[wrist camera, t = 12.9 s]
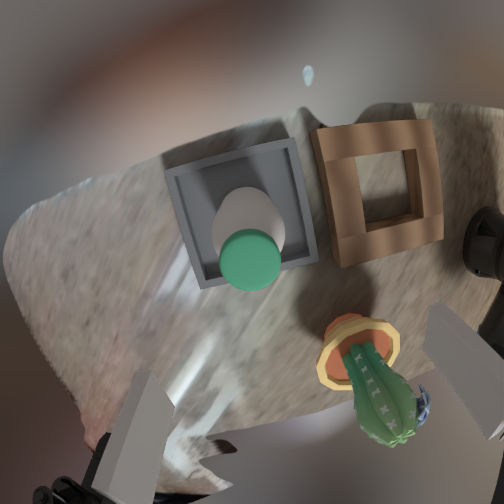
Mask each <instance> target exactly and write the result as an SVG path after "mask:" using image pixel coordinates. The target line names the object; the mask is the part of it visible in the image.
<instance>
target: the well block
mask: <svg viewBox="0 0 504 504" xmlns="http://www.w3.org/2000/svg"><path fill="white" fill-rule="evenodd" d="M310 137H311V141H312V145H313V149H314V154H315V158H316V163H317V167H318V172H319V177H320V182H321V187H322V192H323V197H324V203H325V208H326V214H327V220H328V226H329V232H330V238H331V245H332V252H333V259H334V260H335V261H336V263H337V264H338V265H339V266H340V267H341V268H345V267H349V266H352V265H356V264H360V263H363V262H367V261H371V260H374V259H378V258H381V257H385V256H388V255H392V254H395V253H399V252H402V251H405V250H409V249H412V248H415V247H419V246H422V245H425V244H429V243H432V242H435V241H438V240H441V239H444V223H443V201H442V188H441V177H440V169H439V161H438V154H437V148H436V142H435V136H434V131H433V126H432V121H431V119H417V120H395V121H381V122H369V123H359V124H350V125H342V126H335V127H327V128H321V129H316V130H313V131H311V132H310ZM399 150H403V153H404V159H405V166H406V172H407V180H408V188H409V197H410V207H411V213H409V214H405V215H401V216H397V217H393V218H388V219H384V220H380V221H376V222H372V223H367V224H365V220H364V212H363V205H362V198H361V192H360V185H359V179H358V174H357V168H356V163H355V158H354V157H355V156H361V155H368V154H375V153H383V152H390V151H399Z"/></svg>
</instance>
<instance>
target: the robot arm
mask: <svg viewBox="0 0 504 504" xmlns="http://www.w3.org/2000/svg"><path fill="white" fill-rule="evenodd" d="M463 256H464V262H465V265H466V267H467V269H468V270H469V271H470V272H471V273H473V274H474V275H476V276H478V277H484V278H492V279H498V280H499V281H501V282H502V284H501V286H500V288H499V290H498V292H497V295H496V297H495V299H494V301H493V303H492V305H491V307H490V308H489V310H488V312H487V314H486V316H485V318H484V320H483V321H482V323H481V324H480V325H479V327H478V331H477V332H475V331H474V330H473V329H472V328H471V327H469V326H468V325H467V324H466V323H465V322H464V321H463V320H462V319H461V318H460V317H458V316H457V315H456V314H455V313H454V312H453V311H452V310H451V309H449V308H448V307H447V306H446V305H445V304H444V303H443V302H439V303H436V304H434V305H431V306H429V314H428V322H427V329H426V336H425V342H424V348H423V351H424V352H425V353H426V354H427V356H428V357H429V358H430V359H431V361H432V362H433V363H434V365H435V366H436V367H437V369H438V370H439V371H440V372H441V374H442V375H443V376H444V378H445V379H446V380H447V382H448V383H449V385H450V386H451V387H452V389H453V390H454V391H455V392H456V394H457V395H458V397H459V398H460V400H461V401H462V403H463V404H464V405H465V407H466V408H467V410H468V411H469V413H470V414H471V416H472V417H473V419H474V420H475V422H476V423H477V425H478V426H479V428H480V429H481V431H482V432H483V434H484V436H485V437H486V439H487V440H489V439H491V438H492V437H493V436H494V435H496V434H497V433H498V432H500V431H501V429H502V428H503V427H504V215H503V214H502V213H501V212H500V211H498V210H496V209H493V208H490V207H485V208H482V209H481V210H479V211H478V212H477V213H476V214H475V216H474V217H473V219H472V220H471V222H470V224H469V226H468V229H467V232H466V235H465V240H464V247H463ZM174 408H175V406H174V405H173V403H172V402H171V400H170V399H169V397H168V396H167V394H166V392H165V391H164V389H163V388H162V386H161V384H160V383H159V381H158V380H157V378H156V376H155V375H154V373H153V371H152V370H145V371H138V373H137V375H136V377H135V380H134V382H133V384H132V386H131V389H130V391H129V393H128V395H127V398H126V400H125V402H124V405H123V407H122V409H121V412H120V414H119V416H118V419H117V421H116V423H115V426H114V428H113V431H112V433H107V432H106V433H105V434H104V435H103V436H102V438H101V439H100V440H99V442H98V444H97V446H96V449H95V450H96V451H94V454H93V456H92V457H93V459H91V461H90V464H89V466H88V469H87V471H86V474H85V477H84V479H83V482H82V484H81V486H80V485H79V484H77V483H76V482H75V481H74V480H72V479H71V478H69V477H66V476H62V477H59V478H57V479H56V480H55V481H54V483H53V484H52V487H51V490H50V489H49V488H48V487H46V486H40V487H38V488H37V489H35V491H34V493H33V504H153V499H154V494H155V489H156V485H157V480H158V475H159V471H160V466H161V462H162V458H163V453H164V449H165V445H166V441H167V436H168V432H169V428H170V424H171V420H172V416H173V412H174ZM503 438H504V433H503V434H502V436H501V437H500V440H499V441H502V439H503ZM491 504H504V452H503V458H502V463H501V468H500V473H499V477H498V481H497V485H496V488H495V492H494V495H493V499H492V502H491Z"/></svg>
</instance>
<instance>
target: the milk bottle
mask: <svg viewBox="0 0 504 504" xmlns="http://www.w3.org/2000/svg"><path fill="white" fill-rule="evenodd" d="M211 234H212V243H213V246H214V249H215V251H216V253H217V254H218V256H219V267H220V270H221V273H222V275H223V277H224V278H225V279H226V281H227V282H228V283H229V284H231V285H232V286H234V287H236V288H238V289H241V290H245V291H255V290H259V289H262V288H264V287H266V286H268V285H269V284H270V283H272V282H273V281H274V279H275V278H276V277H277V275H278V273H279V270H280V267H281V254H280V252H281V250H282V248H283V245H284V241H285V227H284V222H283V219H282V217H281V215H280V213H279V211H278V209H277V208H276V206H275V205H274V203H273V202H272V201H271V199H270V198H269V197H268V196H267V195H266V194H265V193H264V192H263V191H261V190H259V189H257V188H253V187H241V188H237V189H235V190H233V191H232V192H230V193H229V194H228V195H227V196H226V197H225V198H224V200H223V201H222V203H221V205H220V207H219V209H218V211H217V213H216V215H215V217H214V221H213V224H212V231H211Z"/></svg>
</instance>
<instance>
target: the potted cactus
mask: <svg viewBox="0 0 504 504" xmlns="http://www.w3.org/2000/svg"><path fill="white" fill-rule="evenodd" d="M399 351H400V334H399V333H398V332H397V331H396V330H395V329H394V328H393V327H392V326H391V325H390V324H389V323H388V322H386V321H385V320H381V319H373V318H368V317H363V316H362V315H360V314H355V313H347V314H345V315H342V316H339V317H337V318H336V319H335V320H334V321H333V322H332V323H331V324H329V325H328V327H327V329H326V332H325V334H324V343H323V345H322V348H321V351H320V353H319V356H318V358H317V360H316V369H317V372H318V376H319V379H320V382H321V383H322V384H324V385H326V386H328V387H330V388H331V389H333V390H353V391H354V409H355V412H356V416H357V419H358V422H359V426H360V429H362V430H363V431H364V432H366V433H367V434H368V436H369V437H370V438H372V439H373V440H375V441H376V442H379V443H381V444H383V445H386V446H388V447H390V448H393V447H394V446H395V445H396V444H397V443H398V442H400V443H405V442H406V441H407V438H408V436H411V435H414V434H415V433H416V429H417V427H418V426H419V425H422V424H423V423H424V422H425V421H426V419H427V417H428V413H429V411H430V405H431V403H430V401H431V398H430V396H429V393H428V392H427V391H425V389H424V388H423V386H422V385H421V384H420V385H419V388H420V391H421V393H422V394H421V397H420V398H416V394H415V393H414V391H413V390H412V389H411V387H410V386H409V385H408V383H407V382H406V380H405V379H404V378H403V377H402V376H401V375H399V374H398V373H396V372H395V371H393V370H392V369H390V367H391V366H392V364H393V362H394V360H395V358H396V357H397V355H398V353H399Z"/></svg>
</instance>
